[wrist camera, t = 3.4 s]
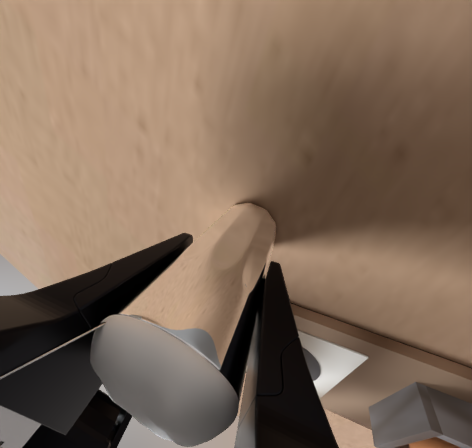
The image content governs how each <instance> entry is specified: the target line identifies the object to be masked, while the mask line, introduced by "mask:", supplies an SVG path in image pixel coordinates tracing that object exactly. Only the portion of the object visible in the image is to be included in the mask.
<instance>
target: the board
mask: <svg viewBox="0 0 472 448" xmlns="http://www.w3.org/2000/svg"><path fill="white" fill-rule="evenodd" d="M291 307H292V311H293V315H294V319H295V322H296V326H297V330H298V334H299V338H300V341H301V345H302V348H303V352H304V355H305V358H306V362H307V365H308V368H309V371H310V374H311V376H312V379H313V382H314V385H315V387H316V390H317V393H318V395H319V398H320V401H321V403H322V406H323V408H324V409H327V410H329V411H331V412H333V413H335V414H338V415H340V416H342V417H344V418H346V419H349V420H351V421H353V422H355V423H357V424H360V425H362V426H364V427H366V428H368V429H371V430H372V434H373V440H374V446H375V447H377V448H409V444H410V443H414V442H418V441H422V440H426V439H430V438H434V437H438V438H440V439H442V440H444V441H447V442H449V443H451V444H454V445H456V446H458V447H461V448H472V368H469V367H466V366H463V365H461V364H458V363H455V362H452V361H450V360H447V359H444V358H441V357H438V356H436V355H433V354H430V353H427V352H424V351H422V350H419V349H416V348H413V347H411V346H408V345H405V344H402V343H399V342H397V341H394V340H391V339H388V338H385V337H383V336H380V335H377V334H374V333H372V332H369V331H366V330H363V329H360V328H358V327H355V326H352V325H349V324H346V323H344V322H341V321H338V320H335V319H333V318H330V317H327V316H324V315H321V314H319V313H316V312H313V311H310V310H307V309H305V308H302V307H299V306H296V305H294V304H291ZM249 355H250V353H249ZM248 361H249V358H248ZM247 367H248V363H247ZM245 373H247V368H246V372H245Z"/></svg>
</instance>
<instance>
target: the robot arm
mask: <svg viewBox="0 0 472 448" xmlns="http://www.w3.org/2000/svg"><path fill="white" fill-rule="evenodd" d="M192 243H193V237H192V235H190V234H187V233H182V234H180V235H178V236H175V237H173V238H170V239H168V240H166V241H163V242H161V243H158V244H156V245H153V246H151V247H149V248H146V249H144V250H141V251H139V252H137V253H134V254H132V255H129V256H127V257H125V258H122V259H120V260H117V261H115V262H113V263H110V264H108V265H105V266H103V267H100V268H98V269H95V270H93V271H90V272H88V273H85V274H82V275H79V276H76V277H74V278H71V279H68V280H65V281H62V282H59V283H56V284H53V285H50V286H47V287H44V288H41V289H38V290H35V291H32V292H28V293H25V294H19V295H11V296H0V374H1V373H3V372H5V371H7V370H9V369H11V368H13V367H15V366H17V365H19V364H21V363H23V362H25V361H27V360H29V359H31V358H33V357H35V356H37V355H39V354H41V353H43V352H45V351H47V350H49V349H51V348H53V347H55V346H57V345H59V344H60V343H62V342H64V341H66V340H68V339H70V338H72V337H74V336H76V335H78V334H80V333H82V332H84V331H86V330H88V329H90V328H92V327H94V326H96V325H98V324H100V323H101V322H102V321H103V320H104V319H105V318H107V317H108V316H109V315H110V314H111V313H112V312H113V311H114V310H115V309H117V308H118V307H119V306H120V305H121V304H122V303H124V302H125V301H126V300H127V299H128V298H129V297H130V296H132V295H133V294H134V293H135V292H136V291H137V290H139V289H140V288H141V287H142V286H143V285H144V284H146V283H147V282H148V281H149V280H150V279H151V278H153V277H154V276H155V275H156V274H157V273H158V272H160V271H161V270H162V269H163V268H164V267H165V266H167V265H168V264H169V263H170V262H171V261H173V260H174V259H175V258H176V257H177V256H178V255H179V254H181V253H182V252H183V251H184V250H185V249H186V248H187V247H188V246H189V245H191V244H192ZM94 332H95V330H94V331H92V332H90V333H88V334H86V335H84V336H82V337H80V338H79V339H77V340H75V341H73V342H71V343H69V344H67V345H65V346H63V347H61V348H59V349H57V350H56V351H54V352H52V353H50V354H48V355H46V356H44V357H42V358H40V359H38V360H36V361H34V362H33V363H31V364H29V365H27V366H25V367H23V368H21V369H19V370H17V371H15V372H13V373H11V374H10V375H8V376H6V377H4V378H2V379H0V448H117V446H118V444H119V442H120V440H121V438H122V435H123V434H124V432H125V430H126V428H127V426H128V424H129V421H130V420H131V418H132V415H131V414H129V413H128V412H127V411H126V410H124V409H123V408H121V407H120V406H118V405H117V404H116V403H114V402H113V401H112V400H111V398H110V397H109V396H108V395H107V394H105V393H104V392H102V391H101V390H99V388H100V386H101V385H102V384H103V383H102V381H101V379H100V378H99V376H98V375H97V374H96V372H95V371H94V369H93V367H92V365H91V362H90V352H91V343H92V339H93V335H94ZM234 448H339V447H338V445H337V442H336V440H335V437H334V435H333V432H332V430H331V427H330V425H329V422H328V419H327V417H326V414H325V411H324V409H323V406H322V403H321V401H320V398H319V395H318V393H317V390H316V387H315V385H314V382H313V379H312V376H311V374H310V371H309V368H308V365H307V362H306V358H305V355H304V352H303V348H302V345H301V341H300V338H299V334H298V330H297V326H296V322H295V319H294V315H293V311H292V307H291V303H290V300H289V296H288V292H287V288H286V285H285V281H284V277H283V273H282V269H281V266H280V264H279V263H277V262H274V261H271V262H270V265H269V269H268V272H267V276H266V279H265V282H264V286H263V289H262V293H261V296H260V301H259V307H258V312H257V318H256V323H255V329H254V333H253V338H252V343H251V348H250V355H249V361H248V367H247V373H246V379H245V386H244V392H243V398H242V404H241V410H240V416H239V423H238V431H237V435H236V441H235V447H234Z"/></svg>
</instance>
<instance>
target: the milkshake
mask: <svg viewBox="0 0 472 448" xmlns="http://www.w3.org/2000/svg"><path fill="white" fill-rule="evenodd" d="M275 233H276V223H275V222H274V220H273V219H272V217H271V216H270V214H269V213H268V211H267V210H266V209H263V208H261V207H259V206H257V205H254V204H252V203H250V202H249V203H243V204H237V205H233V206H232V207H231V208H230V209H229V210H227V211H226V212H225V213H224V214H223V215H222V216H221V217H220V218H219V219H218V220H217V221H215V222H214V223H213V224H212V225H211V226H210V227H209V228H208V229H207V230H206V231H205V232H204V233H202V234H201V235H200V236H199V237H198V238H197V239H196V240H195V241H194V242H193V243H192V244H191V245H189V246H188V247H187V248H186V249H185V250H184V251H183V252H182V253H181V254H179V255H178V256H177V257H176V258H175V259H174V260H173V261H171V262H170V263H169V264H168V265H167V266H165V267H164V268H163V269H162V270H161V271H160V272H158V273H157V274H156V275H155V276H154V277H153V278H151V279H150V280H149V281H148V282H147V283H146V284H144V285H143V286H142V287H141V288H140V289H139V290H137V291H136V292H135V293H134V294H133V295H132V296H130V297H129V298H128V299H127V300H126V301H125V302H124V303H122V304H121V305H120V306H119V307H118V308H117V309H115V310H114V311H113V312H112V313H111V314H110V315H109V316H108V317H107V318H105V319H104V320H103V321H102V322H101V323H100V324H98V325H96V326H94V327H92V328H90V329H88V330H86V331H84V332H82V333H80V334H78V335H76V336H74V337H72V338H70V339H68V340H66V341H64V342H62V343H60V344H59V345H57V346H55V347H53V348H51V349H49V350H47V351H45V352H43V353H41V354H39V355H37V356H35V357H33V358H31V359H29V360H27V361H25V362H23V363H21V364H19V365H17V366H15V367H13V368H11V369H9V370H7V371H5V372H3V373H1V374H0V379H2V378H4V377H6V376H8V375H10V374H11V373H13V372H15V371H17V370H19V369H21V368H23V367H25V366H27V365H29V364H31V363H33V362H34V361H36V360H38V359H40V358H42V357H44V356H46V355H48V354H50V353H52V352H54V351H56V350H57V349H59V348H61V347H63V346H65V345H67V344H69V343H71V342H73V341H75V340H77V339H79V338H80V337H82V336H84V335H86V334H88V333H90V332H92V331H94V330H95V332H94V335H93V339H92V343H91V352H90V362H91V365H92V367H93V369H94V371H95V372H96V374H97V375H98V376H99V378H100V379H101V381H102V383H103V385H104V387H105V388H106V391H107V393H108V395H109V397H110V398H111V400H112V401H113V402H114V403H116V404H117V405H118V406H120V407H121V408H123V409H124V410H126V411H127V412H128V413H129V414H131V415H132V416H133V417H134V418H135V419H136V420H137V421H138V422H140V423H141V424H142V425H144V426H145V427H147V428H148V429H149V430H150V431H152V432H153V433H154V434H156V435H157V436H158V437H160V438H163V439H166V440H170V441H173V442H175V443H176V444H178V445H181V446H186V447H190V446H191V447H192V446H196V445H199V444H202V443H204V442H207V441H209V440H211V439H213V438H214V437H216V436H217V435H219V434H220V433H222V432H223V431H224V430H226V429H227V428H228V427H229V426H230V425H231V424H232V423H233V422H234V420H235V418H236V416H237V413H238V407H239V401H240V396H241V392H242V387H243V382H244V377H245V372H246V368H247V363H248V358H249V353H250V348H251V343H252V338H253V333H254V329H255V323H256V318H257V312H258V307H259V301H260V296H261V293H262V289H263V286H264V282H265V279H266V275H267V270H268V266H269V262H270V258H271V254H272V250H273V246H274V242H275Z"/></svg>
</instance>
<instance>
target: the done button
mask: <svg viewBox="0 0 472 448" xmlns="http://www.w3.org/2000/svg"><path fill="white" fill-rule="evenodd" d="M409 448H461V447H458V446H456V445H454V444H451V443H449V442H447V441H444V440H442V439H440V438H438V437H434V438H430V439H426V440H422V441H418V442H414V443H410V444H409Z"/></svg>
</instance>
